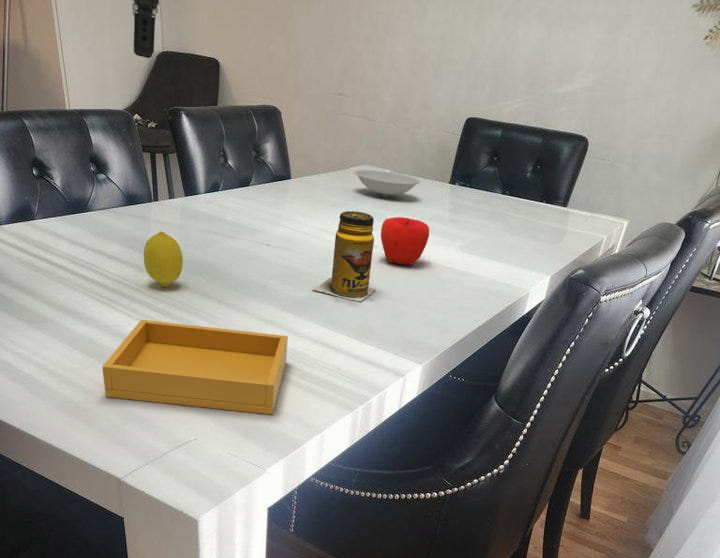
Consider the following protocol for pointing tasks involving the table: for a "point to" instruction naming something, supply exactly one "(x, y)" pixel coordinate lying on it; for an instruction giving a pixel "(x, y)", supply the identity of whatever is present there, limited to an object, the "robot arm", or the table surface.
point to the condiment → (351, 258)
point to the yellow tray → (198, 367)
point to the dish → (386, 182)
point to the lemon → (163, 259)
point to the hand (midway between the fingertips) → (143, 55)
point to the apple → (404, 239)
